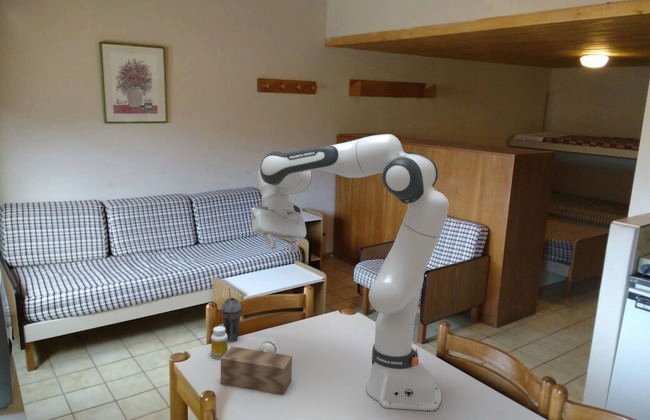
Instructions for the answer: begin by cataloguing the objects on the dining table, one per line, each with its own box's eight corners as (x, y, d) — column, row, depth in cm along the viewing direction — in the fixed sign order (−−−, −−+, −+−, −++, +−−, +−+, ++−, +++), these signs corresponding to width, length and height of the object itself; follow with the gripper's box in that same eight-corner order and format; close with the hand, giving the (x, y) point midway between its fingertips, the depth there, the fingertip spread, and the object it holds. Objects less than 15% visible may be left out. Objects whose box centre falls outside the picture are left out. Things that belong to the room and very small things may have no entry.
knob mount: (291, 381, 154) (292, 356, 153) (283, 395, 147) (284, 368, 145) (231, 370, 159) (231, 346, 157) (220, 383, 151) (220, 358, 150)
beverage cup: (245, 338, 181) (246, 286, 177) (231, 346, 175) (232, 292, 171) (230, 333, 185) (231, 281, 181) (216, 340, 179) (216, 287, 175)
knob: (276, 356, 162) (277, 341, 161) (267, 370, 154) (267, 354, 153) (261, 353, 164) (262, 339, 162) (251, 367, 155) (251, 352, 154)
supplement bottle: (223, 360, 165) (223, 333, 163) (208, 358, 166) (208, 331, 164) (229, 352, 170) (230, 326, 168) (215, 350, 171) (215, 324, 169)
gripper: (257, 200, 150) (264, 243, 145) (305, 209, 164) (313, 249, 160) (244, 208, 153) (251, 250, 148) (292, 216, 168) (299, 255, 163)
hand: (283, 250), depth 154 cm, fingers open, 8 cm apart
